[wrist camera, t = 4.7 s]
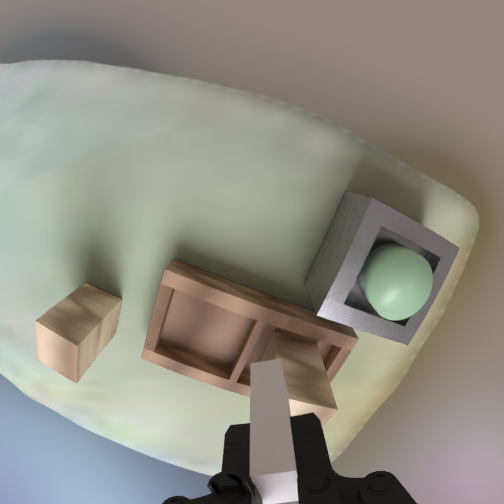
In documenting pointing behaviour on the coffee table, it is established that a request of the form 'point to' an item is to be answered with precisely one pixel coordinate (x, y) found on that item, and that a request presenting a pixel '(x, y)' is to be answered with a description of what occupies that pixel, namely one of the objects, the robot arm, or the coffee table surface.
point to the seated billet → (303, 376)
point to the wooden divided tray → (230, 328)
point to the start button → (395, 281)
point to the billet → (77, 330)
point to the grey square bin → (354, 255)
